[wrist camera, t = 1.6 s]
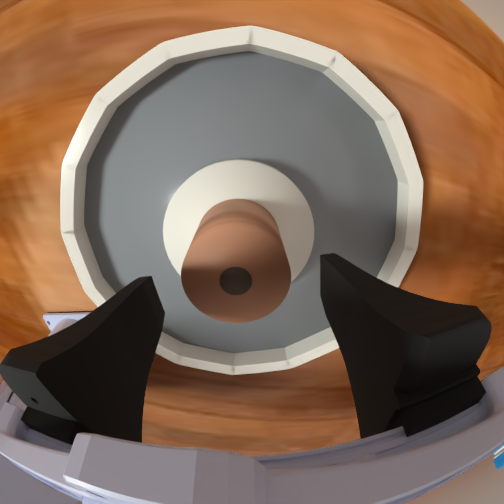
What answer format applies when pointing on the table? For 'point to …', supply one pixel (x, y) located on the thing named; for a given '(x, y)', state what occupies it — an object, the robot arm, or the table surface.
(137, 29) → the table surface
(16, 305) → the table surface
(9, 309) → the table surface
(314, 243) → the groove tray
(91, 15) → the table surface
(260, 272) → the bead
